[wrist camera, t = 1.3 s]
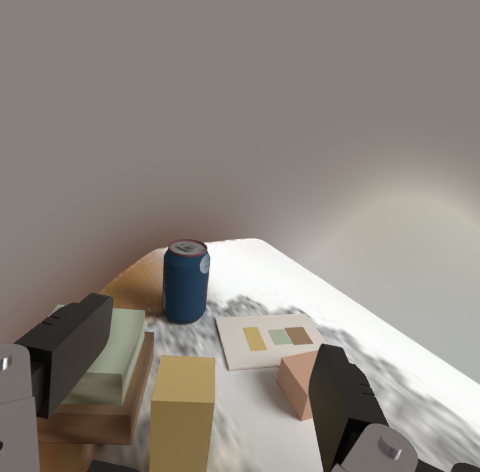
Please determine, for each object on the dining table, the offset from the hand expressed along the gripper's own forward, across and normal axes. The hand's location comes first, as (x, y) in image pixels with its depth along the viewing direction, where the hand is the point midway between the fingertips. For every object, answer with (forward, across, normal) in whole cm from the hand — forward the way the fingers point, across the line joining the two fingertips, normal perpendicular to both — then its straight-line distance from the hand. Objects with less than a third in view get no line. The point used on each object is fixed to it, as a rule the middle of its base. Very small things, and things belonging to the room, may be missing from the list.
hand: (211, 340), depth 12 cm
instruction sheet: (+33, -8, +19) cm, 39 cm away
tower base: (+19, +13, +23) cm, 32 cm away
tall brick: (+12, +1, +22) cm, 26 cm away
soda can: (+36, +6, +20) cm, 42 cm away
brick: (+24, -13, +20) cm, 34 cm away
